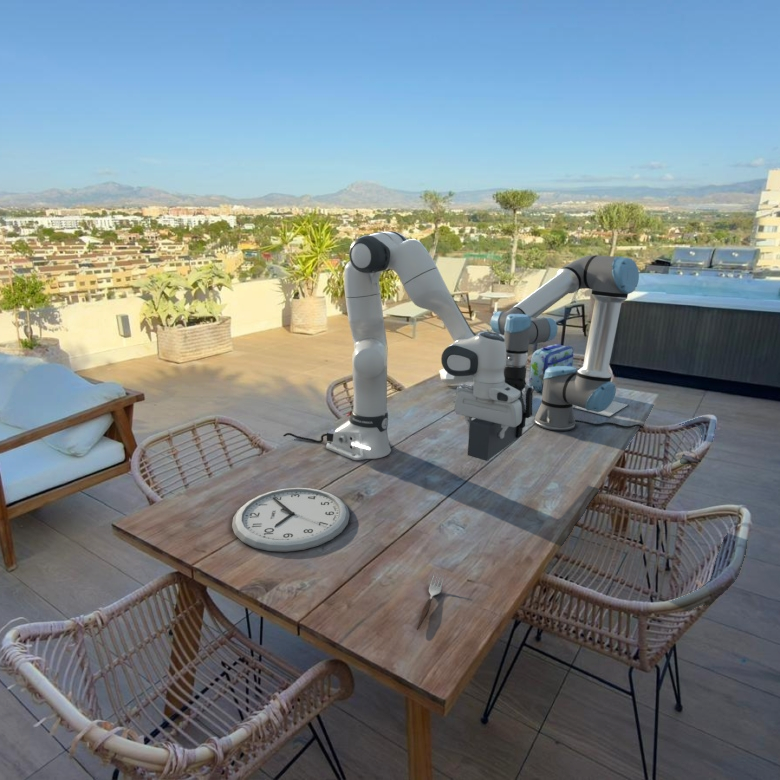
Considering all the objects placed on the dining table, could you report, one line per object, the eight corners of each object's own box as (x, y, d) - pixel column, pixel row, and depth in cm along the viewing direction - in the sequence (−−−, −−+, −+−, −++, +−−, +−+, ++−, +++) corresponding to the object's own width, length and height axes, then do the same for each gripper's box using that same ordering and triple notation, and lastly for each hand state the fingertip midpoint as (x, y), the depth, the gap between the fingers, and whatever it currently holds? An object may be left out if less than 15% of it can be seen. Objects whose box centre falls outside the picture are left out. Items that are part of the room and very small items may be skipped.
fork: (410, 630, 99) (410, 621, 98) (433, 579, 113) (433, 571, 113) (423, 633, 98) (424, 625, 97) (444, 582, 112) (445, 574, 112)
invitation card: (608, 416, 214) (573, 407, 224) (608, 416, 214) (573, 408, 224) (628, 404, 229) (594, 396, 238) (628, 405, 229) (594, 397, 238)
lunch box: (545, 397, 238) (550, 352, 231) (524, 391, 245) (529, 348, 239) (572, 386, 255) (578, 344, 249) (552, 381, 262) (557, 340, 256)
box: (503, 430, 174) (506, 400, 171) (522, 435, 170) (525, 404, 167) (467, 455, 155) (469, 421, 152) (487, 461, 151) (489, 426, 148)
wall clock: (350, 543, 123) (219, 547, 120) (350, 549, 123) (220, 553, 121) (349, 483, 151) (243, 486, 149) (349, 488, 152) (243, 491, 149)
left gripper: (451, 385, 153) (449, 429, 157) (516, 398, 142) (513, 445, 146) (462, 380, 158) (460, 423, 162) (526, 392, 146) (522, 438, 151)
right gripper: (480, 361, 165) (475, 430, 171) (539, 372, 153) (532, 444, 160) (491, 357, 170) (486, 423, 177) (549, 367, 159) (541, 437, 166)
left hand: (485, 433), depth 154 cm, fingers open, 8 cm apart
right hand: (508, 433), depth 169 cm, fingers closed on box, 6 cm apart
